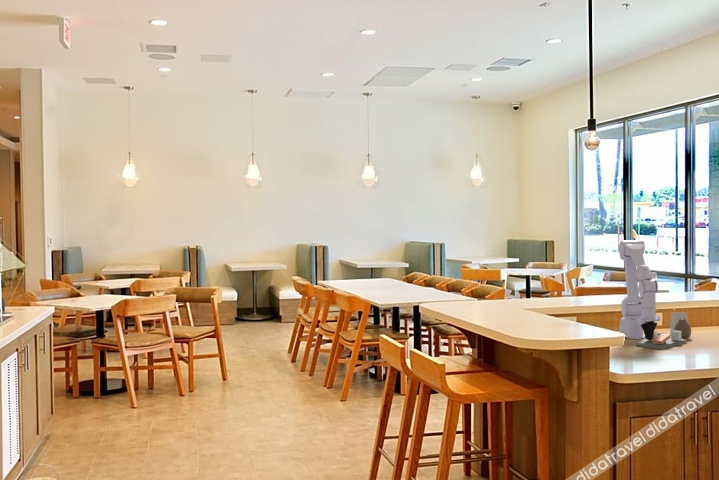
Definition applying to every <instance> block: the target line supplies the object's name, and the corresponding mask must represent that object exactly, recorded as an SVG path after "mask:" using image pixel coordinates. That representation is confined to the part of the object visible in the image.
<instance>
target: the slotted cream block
mask: <svg viewBox="0 0 719 480" xmlns="http://www.w3.org/2000/svg"><path fill="white" fill-rule="evenodd" d="M657 336H658V331H655V330H654V333H653V337H652V340H653V339H654V338H656V337H657ZM652 340H650V341H652Z"/></svg>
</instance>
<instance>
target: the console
mask: <svg viewBox="0 0 719 480" xmlns="http://www.w3.org/2000/svg"><path fill="white" fill-rule="evenodd" d="M635 343H636V347H641V348H648V349H655V350H664V349H667V348H673V347H677V346H680V345H684V344H687V339H682V340H679V341H677V340H671V338H670V339H668V340H667V341H666V342H664V343H663V344H657V343H653V341H650V340H647V339H645V340H641V341H638V342H635Z"/></svg>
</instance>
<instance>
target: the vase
mask: <svg viewBox="0 0 719 480" xmlns="http://www.w3.org/2000/svg"><path fill="white" fill-rule="evenodd" d="M674 330H676V331H681V336H682V339H685V340H689V338H690V337H691V335H692V327H691V325H690V324H689V322H688V323H687V321H686V319H679V321H678V322H677V324H676V325H675V327H674Z"/></svg>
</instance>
